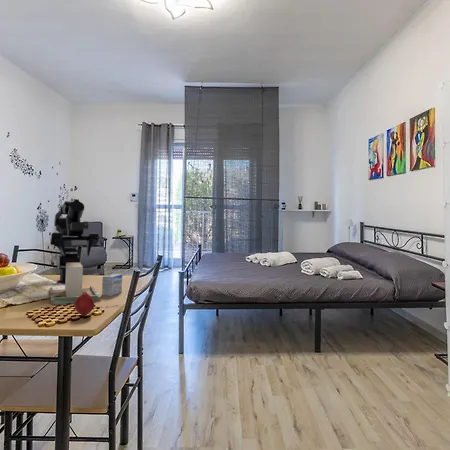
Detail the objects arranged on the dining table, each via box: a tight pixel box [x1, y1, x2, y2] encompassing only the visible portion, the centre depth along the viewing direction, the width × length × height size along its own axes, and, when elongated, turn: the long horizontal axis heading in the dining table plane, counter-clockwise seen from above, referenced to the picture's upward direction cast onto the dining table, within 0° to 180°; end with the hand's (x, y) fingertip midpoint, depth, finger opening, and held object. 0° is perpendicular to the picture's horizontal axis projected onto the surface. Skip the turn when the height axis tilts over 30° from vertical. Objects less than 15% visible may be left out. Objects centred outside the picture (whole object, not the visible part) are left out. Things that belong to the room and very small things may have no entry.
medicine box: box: [101, 273, 123, 297], centre depth 139 cm, size 8×4×9 cm, turn 168°
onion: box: [74, 291, 95, 317], centre depth 112 cm, size 6×6×8 cm
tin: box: [64, 262, 84, 297], centre depth 135 cm, size 12×5×11 cm, turn 28°
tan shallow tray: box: [49, 285, 102, 305], centre depth 132 cm, size 23×16×4 cm
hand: (76, 255), depth 146 cm, fingers open, 9 cm apart
